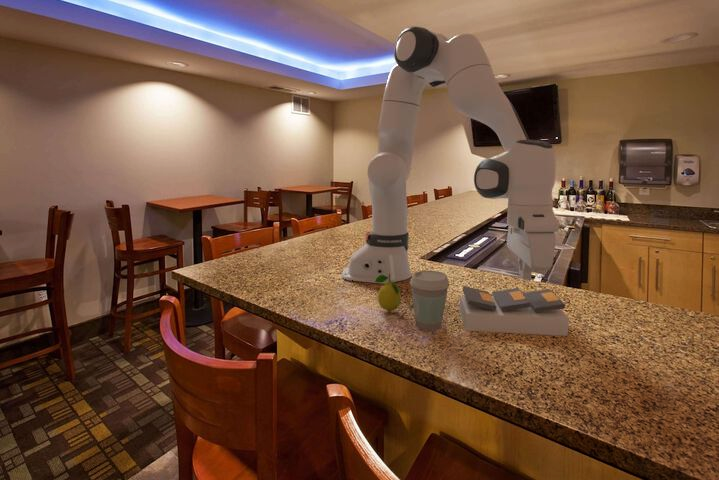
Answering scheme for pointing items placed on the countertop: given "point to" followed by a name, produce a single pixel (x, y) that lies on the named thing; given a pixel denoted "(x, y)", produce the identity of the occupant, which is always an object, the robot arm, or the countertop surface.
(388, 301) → the lemon
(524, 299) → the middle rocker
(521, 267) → the robot arm
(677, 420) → the countertop surface
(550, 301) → the right rocker
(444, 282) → the coffee cup
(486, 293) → the left rocker
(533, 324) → the rocker switch box
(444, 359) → the countertop surface
